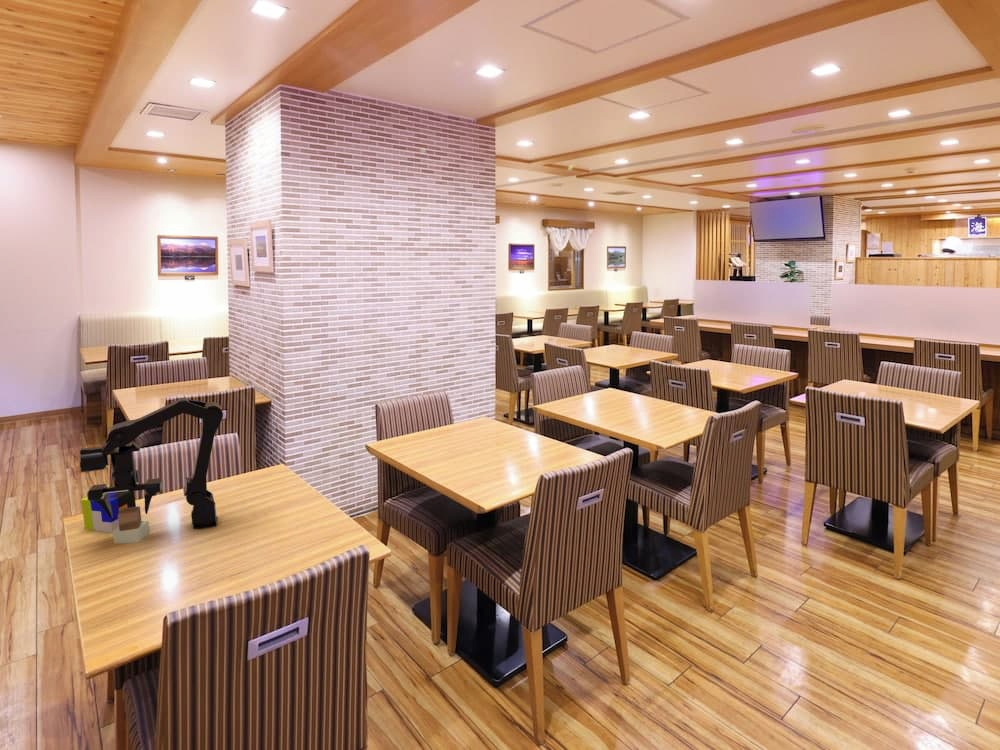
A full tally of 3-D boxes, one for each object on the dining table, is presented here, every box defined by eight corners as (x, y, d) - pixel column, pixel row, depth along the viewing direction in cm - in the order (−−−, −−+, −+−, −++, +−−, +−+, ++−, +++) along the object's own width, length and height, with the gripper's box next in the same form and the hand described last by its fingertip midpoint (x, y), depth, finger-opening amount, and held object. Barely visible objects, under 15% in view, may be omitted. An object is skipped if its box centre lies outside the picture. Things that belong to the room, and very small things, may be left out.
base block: (149, 532, 189) (148, 520, 188) (139, 543, 182) (137, 531, 181) (126, 533, 188) (124, 521, 187) (114, 544, 181) (112, 532, 181)
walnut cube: (138, 528, 183) (137, 512, 182) (119, 530, 181) (117, 515, 180) (141, 521, 188) (139, 506, 187) (122, 523, 186) (121, 508, 185)
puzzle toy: (112, 532, 188) (108, 502, 186) (85, 529, 190) (81, 499, 188) (137, 519, 198) (134, 490, 196) (111, 516, 200) (107, 487, 198)
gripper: (163, 454, 191) (168, 501, 194) (93, 461, 185) (99, 509, 188) (157, 466, 181) (162, 515, 184) (83, 473, 174) (90, 524, 178)
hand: (129, 515), depth 184 cm, fingers open, 9 cm apart
